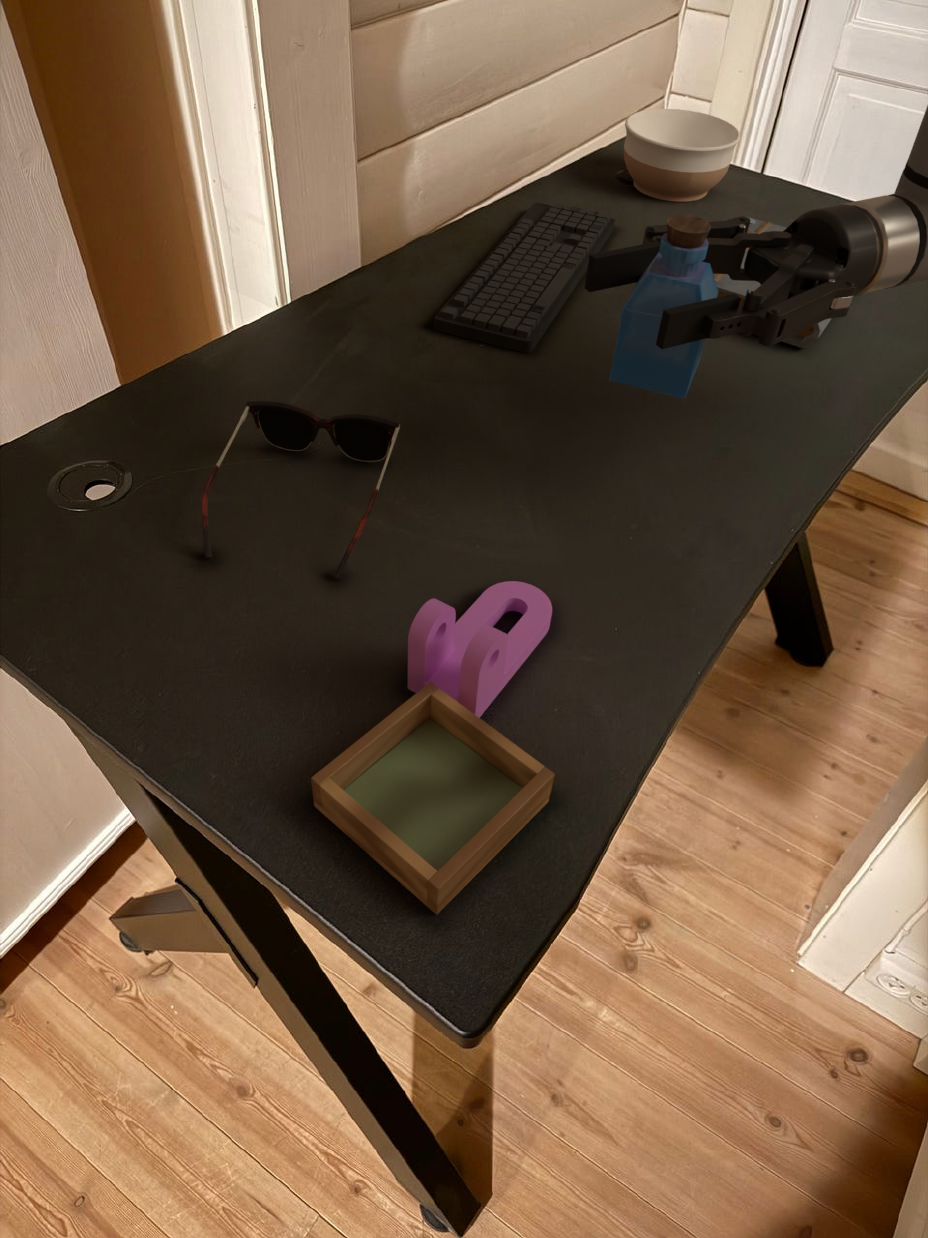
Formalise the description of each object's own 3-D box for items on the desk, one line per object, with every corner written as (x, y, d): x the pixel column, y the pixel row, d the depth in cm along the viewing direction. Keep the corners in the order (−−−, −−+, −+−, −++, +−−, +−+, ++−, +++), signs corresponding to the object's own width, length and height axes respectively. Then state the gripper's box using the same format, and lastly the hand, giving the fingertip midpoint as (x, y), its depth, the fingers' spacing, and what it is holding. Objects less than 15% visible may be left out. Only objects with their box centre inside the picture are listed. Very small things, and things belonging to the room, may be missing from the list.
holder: (548, 801, 58) (555, 773, 56) (436, 915, 52) (438, 889, 50) (429, 710, 63) (430, 681, 60) (313, 806, 57) (310, 777, 55)
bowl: (665, 157, 139) (676, 101, 133) (748, 193, 131) (764, 134, 125) (592, 179, 132) (601, 120, 126) (676, 218, 123) (690, 156, 118)
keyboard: (533, 211, 122) (535, 196, 121) (614, 229, 120) (617, 213, 119) (432, 329, 99) (433, 312, 98) (530, 353, 97) (532, 336, 95)
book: (811, 354, 100) (827, 312, 96) (672, 310, 105) (682, 268, 101) (859, 283, 113) (875, 244, 109) (733, 247, 118) (744, 208, 114)
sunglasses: (401, 463, 82) (400, 419, 78) (357, 593, 72) (354, 548, 68) (254, 442, 83) (246, 397, 79) (190, 566, 73) (178, 521, 69)
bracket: (474, 724, 62) (480, 657, 57) (407, 688, 64) (408, 620, 59) (562, 613, 70) (575, 546, 65) (501, 584, 72) (508, 516, 67)
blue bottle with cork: (684, 398, 72) (724, 249, 63) (609, 380, 73) (637, 231, 64) (699, 362, 76) (738, 216, 67) (627, 345, 77) (656, 200, 68)
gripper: (925, 354, 72) (702, 418, 64) (747, 244, 85) (543, 286, 77) (968, 261, 67) (730, 319, 58) (771, 159, 79) (554, 194, 71)
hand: (624, 300), depth 68 cm, fingers closed on blue bottle with cork, 9 cm apart
